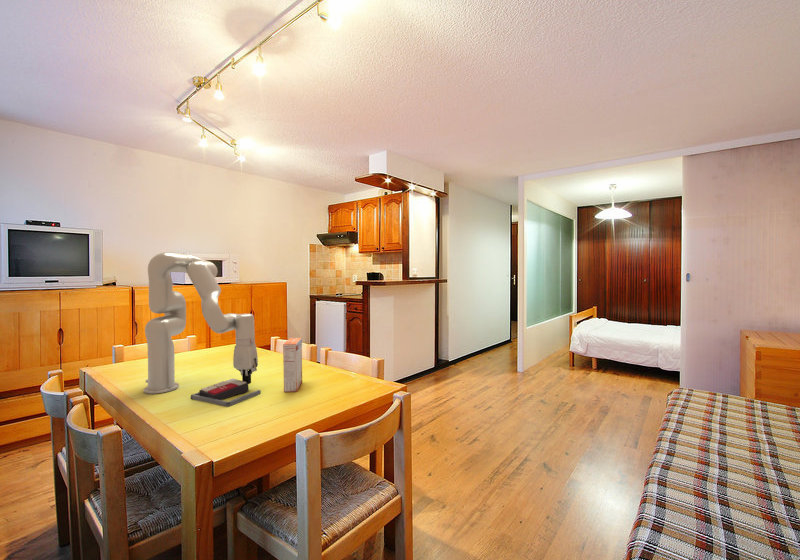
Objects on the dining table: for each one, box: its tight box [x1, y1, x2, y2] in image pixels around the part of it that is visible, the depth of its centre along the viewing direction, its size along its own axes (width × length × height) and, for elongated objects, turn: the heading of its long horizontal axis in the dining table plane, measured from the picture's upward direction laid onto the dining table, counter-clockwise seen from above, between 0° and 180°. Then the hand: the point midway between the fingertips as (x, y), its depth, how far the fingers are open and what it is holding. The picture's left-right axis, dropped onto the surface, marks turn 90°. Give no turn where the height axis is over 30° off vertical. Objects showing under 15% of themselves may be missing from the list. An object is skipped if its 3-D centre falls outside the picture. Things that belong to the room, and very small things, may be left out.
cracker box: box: [282, 337, 303, 393], centre depth 154 cm, size 14×6×21 cm, turn 6°
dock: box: [190, 389, 262, 408], centre depth 142 cm, size 21×16×2 cm
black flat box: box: [199, 378, 249, 401], centre depth 144 cm, size 11×4×15 cm
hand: (246, 383), depth 151 cm, fingers closed
